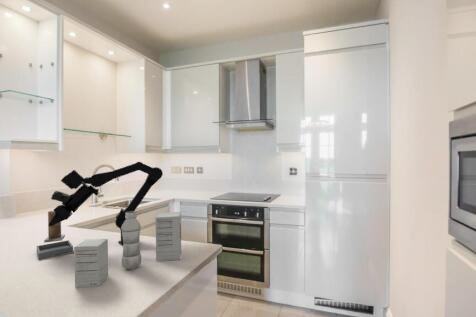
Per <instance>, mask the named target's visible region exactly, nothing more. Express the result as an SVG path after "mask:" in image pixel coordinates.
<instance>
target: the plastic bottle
mask: <svg viewBox="0 0 476 317" xmlns="http://www.w3.org/2000/svg"><path fill="white" fill-rule="evenodd" d="M125 218H126V220H125V221H124V223H123V224H122V227H121V230H120V232H121V231H122V236H123V247H122V248H123V249H122V251H123V252H122V256H121V265H122V268H123V269H125V270H134V269H137V268H140V266H141V264H142V254H141V253H142V252H141V247H140V235H141V228H142V227H141V225H142V224H141V223H140V221H139V220H138V219H137V211H136V210H135V211H129V212H126V213H125Z"/></svg>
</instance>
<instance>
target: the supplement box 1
mask: <svg viewBox="0 0 476 317" xmlns="http://www.w3.org/2000/svg"><path fill="white" fill-rule="evenodd" d="M73 253H74V254H73V256H74V259H73V260H74V261H73V262H74V287H75V288H89V287H90V288H91V287H99V286H100V285H101V284H102V283H103V282H104V281H105V280H106V278H107V277H108V276H109V238H94V239H93V238H91V239H87V238H86V239H84V240H83V241H82V242H80V243H78V244H76V245H75V246H73Z"/></svg>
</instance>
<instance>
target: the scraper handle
mask: <svg viewBox="0 0 476 317" xmlns="http://www.w3.org/2000/svg"><path fill="white" fill-rule="evenodd" d="M54 216H55V212H54V210H50V211H48V212H47V223H48V224H49V223H50V221H51V220H52V219H53V217H54ZM48 224H47V228H48V229H47V231H48V232H47V233H48V236H47V237H46V238H44V240H43V241H44V242H43V243H45V244H46V243H51V242H52V243H55V242H62V241H64V239H65V237H66V234H64V233H63V234H62V221H61V222H59V223H57V224H55V225H53V226H49V225H48Z"/></svg>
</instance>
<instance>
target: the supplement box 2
mask: <svg viewBox="0 0 476 317" xmlns="http://www.w3.org/2000/svg"><path fill="white" fill-rule="evenodd" d="M181 256H182V212H181V211H172V212H159V213H158V214H157V216H156V217H155V261H156V262H162V261H163V262H164V261H177V260H181Z"/></svg>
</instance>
